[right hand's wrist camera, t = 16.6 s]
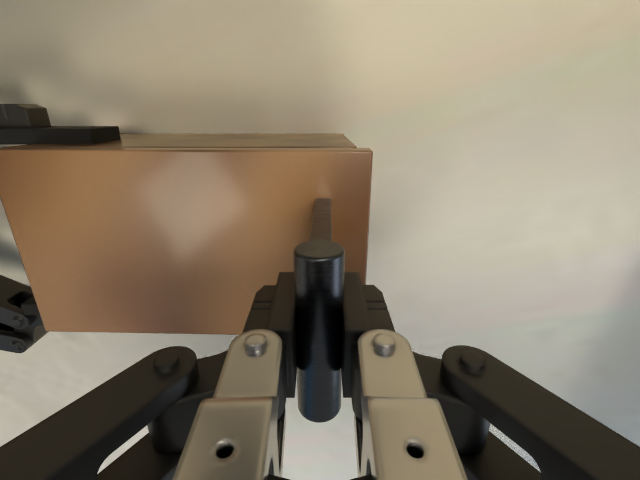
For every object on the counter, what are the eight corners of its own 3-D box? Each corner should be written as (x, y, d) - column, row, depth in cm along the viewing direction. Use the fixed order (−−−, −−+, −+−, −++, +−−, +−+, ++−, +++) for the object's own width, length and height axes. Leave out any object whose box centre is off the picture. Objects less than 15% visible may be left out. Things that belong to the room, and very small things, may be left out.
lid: (370, 148, 15) (407, 184, 8) (361, 324, 19) (381, 468, 11) (5, 146, 16) (-287, 180, 8) (60, 320, 19) (-113, 454, 12)
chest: (342, 133, 24) (357, 146, 16) (340, 254, 28) (350, 317, 19) (113, 134, 24) (5, 146, 16) (138, 255, 28) (60, 319, 19)
